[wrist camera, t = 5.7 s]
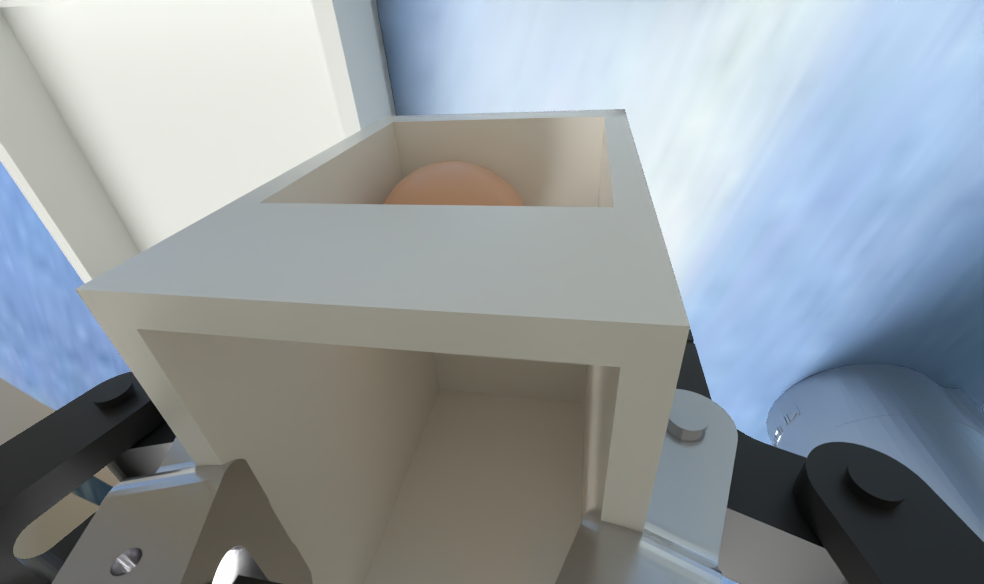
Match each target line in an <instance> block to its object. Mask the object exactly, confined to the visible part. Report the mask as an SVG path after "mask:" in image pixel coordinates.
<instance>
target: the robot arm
mask: <svg viewBox="0 0 984 584" xmlns="http://www.w3.org/2000/svg"><path fill="white" fill-rule="evenodd" d="M693 341H694V340H693V336H692V333H691V330H690V329H689V333H688V337H687V342H686V346H685V351H684V355H683V359H682V364H681V368H680V373H679V377H678V381H677V386H676V390H675V394H674V399H673V403H672V408H671V412H670V416H669V421H668V425H667V430H666V434H665V438H664V443H663V447H662V452H661V456H660V460H659V465H658V469H657V474H656V478H655V482H654V487H653V491H652V495H651V500H650V504H649V509H648V513H647V517H646V522H645V526H644V531H643V533H642V532H639V531H636V530H633V529H630V528H627V527H624V526H620V525H617V524H613V523H609V522H606V521H602V520H601V517H600V512H599V511H598V505H597V506H596V508H595V509H594V508H590V509H589V510H588V512H587V513H586V515H585V517H584V519H583V521H582V523H581V525H580V527H579V529H578V531H577V534H576V536H575V538H574V541H573V543H572V545H571V548H570V550H569V552H568V555H567V557H566V559H565V562H564V564H563V566H562V569H561V571H560V573H559V575H558V578H557V580H556V582H555V584H721V582H722V576H724V577H726V578H728V579H730V580H732V581H734V582H736V583H738V584H984V412H983V411H982V410H981V409H980V408H979V407H978V406H977V405H976V404H975V403H974V402H973V401H972V400H971V399H970V398H969V397H968V396H967V395H966V393H965V392H964V391H963V390H961V389H953V388H945V387H941V386H940V385H938V384H937V383H935V382H934V381H933V380H931V379H930V378H929V377H928V376H926V375H924V374H922V373H920V372H918V371H915V370H913V369H910V368H906V367H902V366H897V365H892V364H878V363H869V364H853V365H848V366H843V367H837V368H833V369H830V370H826V371H823V372H820V373H817V374H814V375H812V376H810V377H808V378H806V379H804V380H802V381H800V382H798V383H796V384H795V385H794V386H792V387H791V388H789V389H788V390H786V391H785V392H784V393H783V394H782V395H781V396H780V397H779V398H778V399H777V400H776V401H775V402H774V404H773V406H772V408H771V409H770V411H769V413H768V418H767V422H766V424H767V432H768V435H769V437H770V440H771V442H772V444H773V446H771V445H768V444H765V443H763V442H760V441H758V440H755V439H753V438H751V437H749V436H747V435H745V434H744V433H742V432H741V431H739V430H737V428H736V426H735V424H734V421H733V420H732V418H731V417H730V416H729V414H728V413H727V412H726V411H725V410H724V409H723V408H722V407H721V406H719V405H718V404H717V403H715V402H714V401H712V400H711V397H710V393H709V390H708V387H707V383H706V380H705V377H704V373H703V370H702V367H701V363H700V360H699V357H698V353H697V350H696V347H695V344H693ZM105 466H107V467H108V468H109V469H110V471H111V472H112V473H113V474H114V475H115V476H116V477H117V479H118V480H119V481H120V482H119V483H118V484H117V485H115V486H114V487H113V488H112V489H111V490H110V492H109V493H108V494H107V496H106V497H105V498H104V500H103V502H102V503H101V505H100V506H99V508H98V510H97V511H96V512H95V513H94V514H93V515H91V516H90V517H89V518H88V519H87V520H85V521H84V522H83V523H82V524H80V525H79V526H78V527H77V528H75V529H74V530H73V531H72V532H71V533H69V534H68V535H67V536H66V537H64V538H63V539H62V540H61V541H60V542H58V543H57V544H56V545H55V546H54V547H52V548H51V549H50V550H48V551H47V552H45V553H43V554H41V555H39V556H36V557H34V558H30V559H19V558H16V557H15V556H14V554H13V546H14V543H15V541H16V539H17V537H18V536H19V534H20V533H21V532H22V531H23V530H24V529H25V528H26V527H27V526H28V525H29V524H30V523H31V522H32V521H34V520H35V519H37V518H38V517H39V516H40V515H42V514H43V513H44V512H46V511H47V510H48V509H50V508H51V507H52V506H54V505H55V504H56V503H57V502H59V501H60V500H62V499H63V498H64V497H65V496H67V495H68V494H69V493H71V492H72V491H73V490H75V489H76V488H77V487H79V486H80V485H81V484H83V483H84V482H85V481H87V480H88V479H89V478H91V477H92V476H93V475H94V474H96V473H97V472H98V471H100V470H101V469H102V468H104V467H105ZM0 584H313V582H312V575H311V571H310V569H309V568H308V566H307V564H306V562H305V561H304V559H303V557H302V556H301V554H300V552H299V550H298V549H297V547H296V545H295V544H294V543H293V542H292V541H291V539H290V538H289V536H288V534H287V533H286V531H285V529H284V528H283V526H282V524H281V522H280V521H279V519H278V517H277V516H276V514H275V512H274V510H273V509H272V507H271V505H270V502H269V499H268V497H267V496H266V494H265V492H264V490H263V489H262V487H261V485H260V483H259V482H258V480H257V478H256V477H255V475H254V473H253V471H252V470H251V468H250V466H249V465H248V463H247V461H246V460H245V459H235V460H231V461H229V462H227V463H225V464H223V465H203V466H196V465H195V463H194V462H193V460H192V459H191V457H190V456H189V454H188V453H187V451H186V450H185V449H184V447H183V446H182V444H181V443H180V441H179V440H178V438H177V437H176V435H175V434H174V433H173V431H172V430H171V428H170V427H169V425H168V424H167V422H166V421H165V419H164V418H163V416H162V415H161V414H160V412H159V411H158V409H157V408H156V406H155V405H154V403H153V402H152V400H151V399H150V398H149V396H148V395H147V393H146V392H145V390H144V389H143V387H142V386H141V384H140V383H139V382H138V380H137V379H136V377H135V376H134V374H133V373H132V372H128V373H124V374H121V375H118V376H116V377H113V378H111V379H109V380H107V381H105V382H103V383H101V384H99V385H97V386H96V387H94V388H92V389H91V390H89V391H87V392H86V393H84V394H83V395H81V396H79V397H78V398H76V399H75V400H73V401H71V402H70V403H68V404H67V405H65V406H63V407H62V408H60V409H59V410H57V411H55V412H54V413H52V414H51V415H49V416H47V417H46V418H44V419H43V420H41V421H39V422H38V423H36V424H35V425H33V426H31V427H30V428H28V429H26V430H25V431H23V432H22V433H20V434H18V435H17V436H15V437H14V438H12V439H11V440H9V441H7V442H6V443H4V444H2V445H1V446H0Z"/></svg>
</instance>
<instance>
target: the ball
mask: <svg viewBox="0 0 984 584" xmlns="http://www.w3.org/2000/svg"><path fill="white" fill-rule="evenodd" d="M384 204H392V205H474V206H524V203H523V202H522V200H521V198H520V197H519V195H518V194H517V193H516V191H515V190H514V189H513V188H512V187H511V185H510V184H509V183H507V182H506V181H505V180H504V179H503V178H501V177H500V176H499V175H497V174H496V173H494V172H492V171H491V170H489V169H487V168H485V167H482V166H480V165H477V164H473V163H469V162H462V161H444V162H438V163H433V164H430V165H427V166H424V167H422V168H420V169H418V170H416V171H414V172H412V173H411V174H409V175H408V176H406V177H405V178H404V179H403V180H401V181H400V182H399V183H398V184H397V185H396V186H395V187H394V189H393V190H392V191H391V193H390V194H389V195H388V197H387V198H386V200H385V202H384Z"/></svg>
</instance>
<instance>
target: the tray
mask: <svg viewBox="0 0 984 584" xmlns="http://www.w3.org/2000/svg"><path fill="white" fill-rule="evenodd" d="M385 116H396V111H395V105H394V100H393V94H392V88H391V83H390V77H389V72H388V66H387V60H386V55H385V49H384V43H383V38H382V32H381V26H380V21H379V15H378V9H377V4H376V0H0V161H1V162H2V164H3V165H4V166H5V168H6V169H7V171H8V172H9V174H10V175H11V177H12V178H13V180H14V181H15V183H16V184H17V186H18V187H19V188H20V190H21V191H22V193H23V194H24V196H25V197H26V199H27V200H28V202H29V203H30V205H31V206H32V207H33V209H34V210H35V212H36V213H37V215H38V216H39V218H40V219H41V221H42V222H43V224H44V225H45V227H46V228H47V229H48V231H49V232H50V234H51V235H52V237H53V238H54V240H55V241H56V243H57V244H58V246H59V247H60V248H61V250H62V251H63V253H64V254H65V256H66V257H67V259H68V260H69V262H70V263H71V265H72V266H73V267H74V269H75V270H76V272H77V273H78V275H79V276H80V278H81V279H82V281H83V282H84V284H85V283H87V282H89V281H91V280H93V279H94V278H96V277H98V276H100V275H102V274H103V273H105V272H107V271H109V270H111V269H112V268H114V267H116V266H118V265H120V264H121V263H123V262H125V261H127V260H128V259H130V258H132V257H134V256H136V255H137V254H139V253H141V252H143V251H145V250H146V249H148V248H150V247H152V246H154V245H155V244H157V243H159V242H161V241H163V240H164V239H166V238H168V237H170V236H172V235H173V234H175V233H177V232H179V231H181V230H182V229H184V228H186V227H188V226H190V225H191V224H193V223H195V222H197V221H199V220H200V219H202V218H204V217H206V216H207V215H209V214H211V213H213V212H215V211H216V210H218V209H220V208H222V207H224V206H225V205H227V204H229V203H231V202H233V201H234V200H236V199H238V198H240V197H242V196H243V195H245V194H247V193H249V192H251V191H252V190H254V189H256V188H258V187H260V186H261V185H263V184H265V183H267V182H269V181H270V180H272V179H274V178H276V177H278V176H279V175H281V174H283V173H285V172H286V171H288V170H290V169H292V168H294V167H295V166H297V165H299V164H301V163H303V162H304V161H306V160H308V159H310V158H312V157H313V156H315V155H317V154H319V153H321V152H322V151H324V150H326V149H328V148H330V147H331V146H333V145H335V144H337V143H339V142H340V141H342V140H344V139H346V138H348V137H349V136H351V135H353V134H355V133H357V132H358V131H360V130H362V129H364V128H366V127H367V126H369V125H371V124H373V123H374V122H376V121H378V120H380V119H382V118H383V117H385Z"/></svg>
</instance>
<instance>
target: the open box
mask: <svg viewBox="0 0 984 584" xmlns="http://www.w3.org/2000/svg"><path fill="white" fill-rule="evenodd" d="M444 161H462V162H469V163H473V164H477V165H480V166H482V167H485V168H487V169H489V170H491V171H492V172H494V173H496V174H497V175H499V176H500V177H501V178H503V179H504V180H505V181H506V182H507V183H509V184H510V185H511V187H512V188H513V189H514V190H515V191H516V193H517V194H518V195H519V197H520V198H521V200H522V202H523V203H524V206H474V205H392V204H384V202H385V200H386V198H387V197H388V195H389V194H390V193H391V191H392V190H393V189H394V187H395V186H396V185H397V184H398V183H399V182H400V181H401V180H403V179H404V178H405V177H406V176H408V175H409V174H411V173H412V172H414V171H416V170H418V169H420V168H422V167H424V166H427V165H430V164H433V163H438V162H444ZM75 290H76V291H77V293H78V294H79V296H80V297H81V298H82V300H83V301H84V303H85V304H86V306H87V307H88V309H89V310H90V312H91V313H92V314H93V316H94V317H95V319H96V320H97V322H98V323H99V325H100V326H101V328H102V329H103V331H104V332H105V333H106V335H107V336H108V338H109V339H110V341H111V342H112V344H113V345H114V347H115V348H116V349H117V351H118V352H119V354H120V355H121V357H122V358H123V360H124V361H125V363H126V364H127V365H128V367H129V368H130V370H131V371H132V373H133V374H134V376H135V377H136V379H137V380H138V382H139V383H140V384H141V386H142V387H143V389H144V390H145V392H146V393H147V395H148V396H149V398H150V399H151V400H152V402H153V403H154V405H155V406H156V408H157V409H158V411H159V412H160V414H161V415H162V416H163V418H164V419H165V421H166V422H167V424H168V425H169V427H170V428H171V430H172V431H173V433H174V434H175V435H176V437H177V438H178V440H179V441H180V443H181V444H182V446H183V447H184V449H185V450H186V451H187V453H188V454H189V456H190V457H191V459H192V460H193V462H194V463H195V465H196V466H203V465H223V464H225V463H227V462H229V461H231V460H235V459H245V460H246V461H247V463H248V465H249V466H250V468H251V470H252V471H253V473H254V475H255V477H256V478H257V480H258V482H259V483H260V485H261V487H262V489H263V490H264V492H265V494H266V496H267V497H268V499H269V502H270V505H271V507H272V509H273V510H274V512H275V514H276V516H277V517H278V519H279V521H280V522H281V524H282V526H283V528H284V529H285V531H286V533H287V534H288V536H289V538H290V539H291V541H292V542H293V543H294V544H295V545H296V547H297V549H298V550H299V552H300V554H301V556H302V557H303V559H304V561H305V562H306V564H307V566H308V568H309V569H310V571H311V575H312V582H313V584H555V582H556V580H557V578H558V575H559V573H560V571H561V569H562V566H563V564H564V562H565V559H566V557H567V555H568V552H569V550H570V548H571V545H572V543H573V541H574V538H575V536H576V534H577V531H578V529H579V527H580V525H581V523H582V521H583V519H584V517H585V515H586V513H587V512H588V510H589V509H590V508H594V509H595V508H596V506H597V505H598V511H599V512H600V517H601V520H602V521H606V522H609V523H613V524H617V525H620V526H624V527H627V528H630V529H633V530H636V531H639V532H642V533H643V531H644V526H645V522H646V517H647V513H648V509H649V504H650V500H651V495H652V491H653V487H654V482H655V478H656V474H657V469H658V465H659V460H660V456H661V452H662V447H663V443H664V438H665V434H666V430H667V425H668V421H669V416H670V412H671V408H672V403H673V399H674V394H675V390H676V386H677V381H678V377H679V373H680V368H681V364H682V359H683V355H684V351H685V346H686V342H687V337H688V333H689V329H690V325H689V321H688V318H687V315H686V311H685V308H684V305H683V301H682V298H681V295H680V291H679V288H678V285H677V281H676V278H675V275H674V271H673V268H672V265H671V262H670V258H669V255H668V252H667V248H666V245H665V242H664V238H663V235H662V232H661V228H660V225H659V222H658V218H657V215H656V212H655V208H654V205H653V202H652V198H651V195H650V192H649V189H648V185H647V182H646V179H645V175H644V172H643V169H642V165H641V162H640V159H639V155H638V152H637V149H636V145H635V142H634V139H633V135H632V132H631V129H630V126H629V122H628V119H627V116H626V112H625V109H615V110H580V111H546V112H511V113H477V114H443V115H408V116H385V117H383V118H382V119H380V120H378V121H376V122H374V123H373V124H371V125H369V126H367V127H366V128H364V129H362V130H360V131H358V132H357V133H355V134H353V135H351V136H349V137H348V138H346V139H344V140H342V141H340V142H339V143H337V144H335V145H333V146H331V147H330V148H328V149H326V150H324V151H322V152H321V153H319V154H317V155H315V156H313V157H312V158H310V159H308V160H306V161H304V162H303V163H301V164H299V165H297V166H295V167H294V168H292V169H290V170H288V171H286V172H285V173H283V174H281V175H279V176H278V177H276V178H274V179H272V180H270V181H269V182H267V183H265V184H263V185H261V186H260V187H258V188H256V189H254V190H252V191H251V192H249V193H247V194H245V195H243V196H242V197H240V198H238V199H236V200H234V201H233V202H231V203H229V204H227V205H225V206H224V207H222V208H220V209H218V210H216V211H215V212H213V213H211V214H209V215H207V216H206V217H204V218H202V219H200V220H199V221H197V222H195V223H193V224H191V225H190V226H188V227H186V228H184V229H182V230H181V231H179V232H177V233H175V234H173V235H172V236H170V237H168V238H166V239H164V240H163V241H161V242H159V243H157V244H155V245H154V246H152V247H150V248H148V249H146V250H145V251H143V252H141V253H139V254H137V255H136V256H134V257H132V258H130V259H128V260H127V261H125V262H123V263H121V264H120V265H118V266H116V267H114V268H112V269H111V270H109V271H107V272H105V273H103V274H102V275H100V276H98V277H96V278H94V279H93V280H91V281H89V282H87V283H85V284H84V285H82V286H80V287H78V288H76V289H75Z"/></svg>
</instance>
